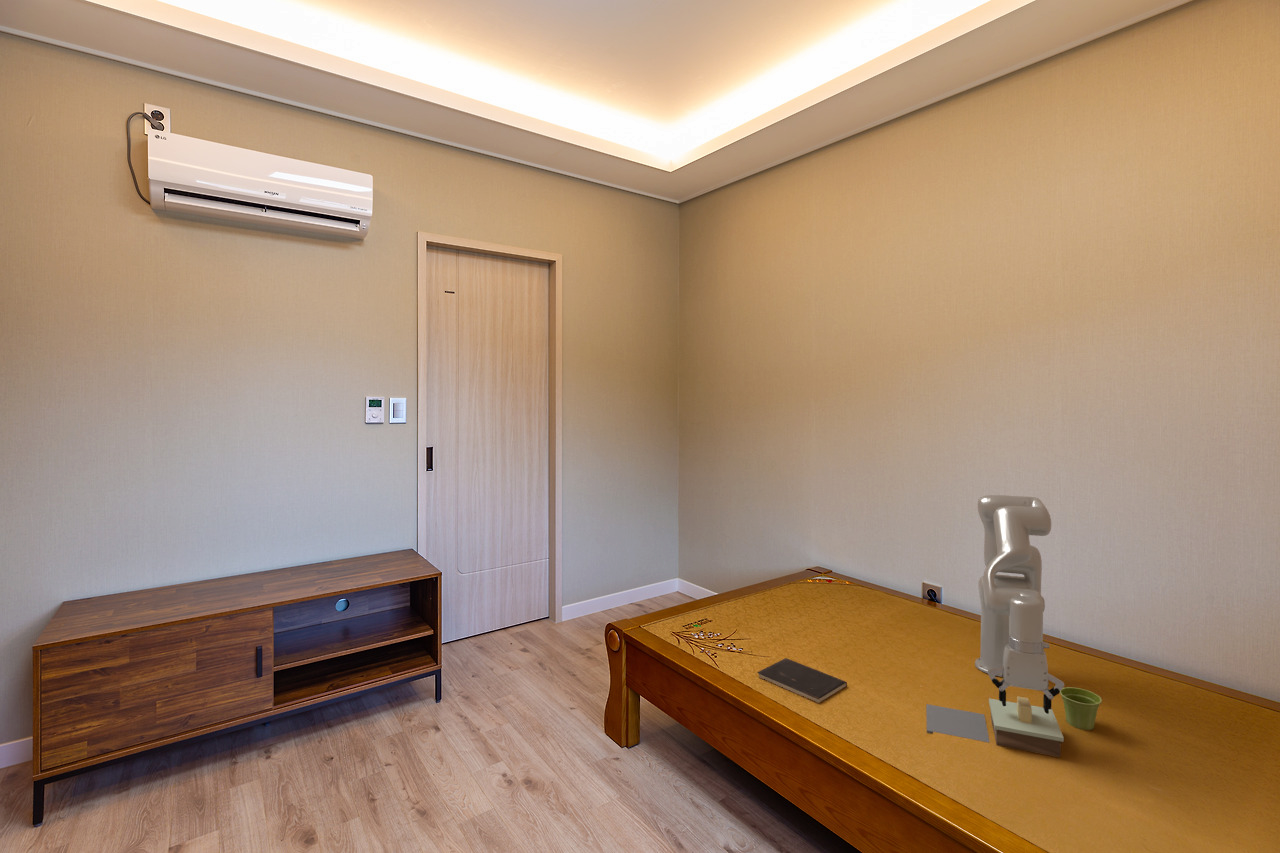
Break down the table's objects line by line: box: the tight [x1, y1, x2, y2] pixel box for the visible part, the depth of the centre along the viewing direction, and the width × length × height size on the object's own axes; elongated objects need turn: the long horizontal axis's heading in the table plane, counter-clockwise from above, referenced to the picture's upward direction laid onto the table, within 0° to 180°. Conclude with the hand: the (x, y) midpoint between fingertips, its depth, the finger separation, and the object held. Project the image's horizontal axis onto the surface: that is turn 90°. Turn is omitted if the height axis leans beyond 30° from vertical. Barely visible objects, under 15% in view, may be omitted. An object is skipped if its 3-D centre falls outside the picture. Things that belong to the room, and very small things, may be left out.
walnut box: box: [990, 713, 1062, 758], centre depth 164 cm, size 14×14×5 cm
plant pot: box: [1059, 686, 1103, 731], centre depth 169 cm, size 9×9×9 cm
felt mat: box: [925, 703, 990, 744], centre depth 171 cm, size 15×15×1 cm
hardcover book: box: [756, 657, 848, 704], centre depth 198 cm, size 16×23×2 cm
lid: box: [988, 696, 1065, 743], centre depth 163 cm, size 15×15×5 cm
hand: (1024, 707), depth 163 cm, fingers open, 9 cm apart
